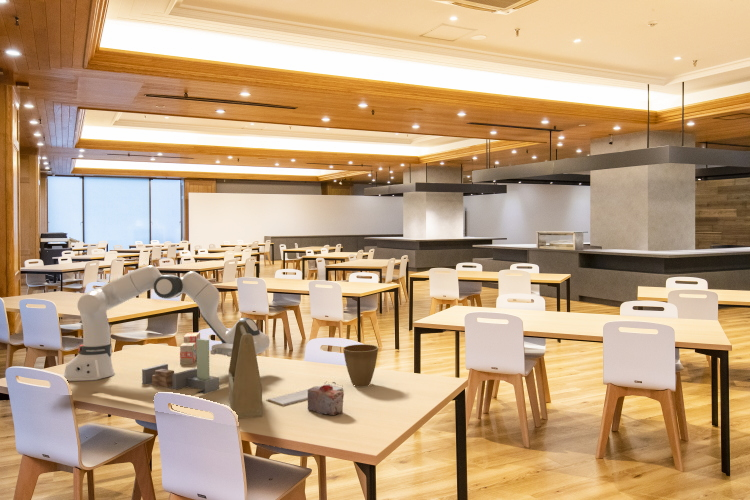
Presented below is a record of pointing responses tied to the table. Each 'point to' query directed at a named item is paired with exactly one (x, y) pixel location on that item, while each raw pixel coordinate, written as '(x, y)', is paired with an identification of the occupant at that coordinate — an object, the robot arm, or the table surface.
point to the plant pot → (360, 363)
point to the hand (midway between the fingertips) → (219, 353)
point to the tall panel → (203, 359)
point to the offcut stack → (163, 378)
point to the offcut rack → (177, 378)
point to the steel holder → (204, 384)
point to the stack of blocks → (189, 348)
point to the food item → (325, 400)
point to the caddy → (244, 375)
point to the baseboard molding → (296, 396)
